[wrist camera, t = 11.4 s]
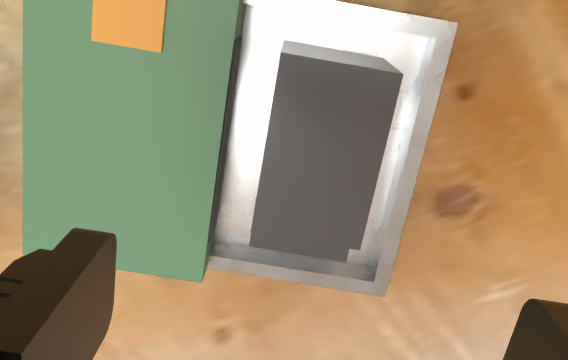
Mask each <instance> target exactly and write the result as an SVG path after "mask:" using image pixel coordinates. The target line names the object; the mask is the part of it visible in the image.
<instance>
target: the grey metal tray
mask: <svg viewBox="0 0 568 360" xmlns="http://www.w3.org/2000/svg"><path fill="white" fill-rule="evenodd" d="M243 3H244V4H246V10H245V18H244V25H243V32H242V43H241V50H240V58H239V65H238V72H237V80H236V87H235V94H234V101H233V109H232V116H231V123H230V131H229V138H228V145H227V152H226V160H225V167H224V174H223V182H222V189H221V196H220V204H219V211H218V218H217V225H216V230H215V237H214V243H213V246H212V249H211V252H210V255H209V261H208V266H207V269H213V270H219V271H225V272H232V273H238V274H244V275H250V276H257V277H263V278H269V279H275V280H282V281H288V282H294V283H300V284H306V285H313V286H319V287H325V288H331V289H338V290H344V291H350V292H356V293H363V294H369V295H375V296H381V297H385V296H386V292H387V288H388V284H389V281H390V277H391V273H392V269H393V266H394V262H395V258H396V254H397V251H398V247H399V243H400V240H401V236H402V232H403V228H404V225H405V221H406V217H407V213H408V210H409V206H410V202H411V198H412V195H413V191H414V187H415V183H416V180H417V176H418V172H419V169H420V165H421V161H422V157H423V154H424V150H425V146H426V142H427V139H428V135H429V131H430V127H431V124H432V120H433V116H434V112H435V109H436V105H437V101H438V98H439V94H440V90H441V86H442V83H443V79H444V75H445V71H446V68H447V64H448V60H449V56H450V53H451V49H452V45H453V41H454V38H455V34H456V30H457V27H458V23H457V22H452V21H447V20H441V19H436V18H430V17H424V16H419V15H413V14H407V13H402V12H396V11H391V10H385V9H379V8H374V7H368V6H363V5H357V4H351V3H346V2H340V1H335V0H244V1H243ZM284 40H287V41H292V42H298V43H303V44H309V45H314V46H320V47H326V48H331V49H337V50H342V51H348V52H353V53H359V54H364V55H370V56H376V57H381V58H384V59H385V60H386V61H388V62H389V63H390V64H391V65H393V66H394V67H395V68H397V69H398V70H399V71H400V72H402V73H403V74H404V75H403V79H402V83H401V87H400V91H399V95H398V99H397V103H396V107H395V111H394V115H393V119H392V123H391V127H390V132H389V136H388V140H387V144H386V148H385V152H384V156H383V160H382V164H381V168H380V172H379V176H378V180H377V184H376V188H375V192H374V196H373V200H372V204H371V209H370V213H369V217H368V221H367V225H366V229H365V233H364V237H363V241H362V245H361V249H360V250H354V249H349V253H348V257H347V261H346V263H344V262H338V261H332V260H326V259H320V258H314V257H308V256H302V255H296V254H290V253H284V252H278V251H272V250H266V249H260V248H254V247H249V242H250V236H251V226H252V220H253V214H254V208H255V202H256V196H257V190H258V184H259V178H260V172H261V167H262V161H263V155H264V149H265V143H266V137H267V131H268V125H269V119H270V113H271V107H272V101H273V95H274V89H275V83H276V77H277V71H278V65H279V59H280V53H281V49H282V45H283V42H284Z"/></svg>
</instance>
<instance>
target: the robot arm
mask: <svg viewBox="0 0 568 360" xmlns="http://www.w3.org/2000/svg"><path fill="white" fill-rule="evenodd" d="M116 252H117V239H116V235H115V234H114V233H108V232H102V231H95V230H89V229H82V228H73V229H72V230H71V231H70V232H69V233H68V234H67V235H66V236H65V237H64V238H63V239H62V240H61V241H60V242H59V244H58V245H57V246H56V247H55V248H54V249H53V250H46V249H38V250H36V251H34V252H31V253H29V254H27V255H25V256H23V257H21V258H19V259H17V260H15V261H13V262H12V263H11V264H10V265H9V266H8V267H7V268H6V269H5V270H4V271H3V272H2V273H1V274H0V360H92V359H93V358H94V356H95V354H96V352H97V350H98V348H99V347H100V345H101V343H102V341H103V339H104V337H105V335H106V333H107V330H108V327H109V324H110V321H111V316H112V311H113V304H114V287H115V270H116ZM503 360H568V304H565V303H559V302H552V301H546V300H539V299H530V300H528V301H527V302H526V303H525V304H524V306H523V307H522V310H521V312H520V315H519V318H518V320H517V323H516V326H515V328H514V331H513V334H512V337H511V339H510V342H509V345H508V347H507V350H506V353H505V355H504V358H503Z"/></svg>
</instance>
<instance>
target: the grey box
mask: <svg viewBox="0 0 568 360" xmlns="http://www.w3.org/2000/svg"><path fill="white" fill-rule="evenodd" d="M403 75H404V74H403V73H402V72H400V71H399V70H398V69H397V68H395V67H394V66H393V65H391V64H390V63H389V62H388V61H386V60H385V59H384V58H381V57H376V56H370V55H364V54H359V53H353V52H348V51H342V50H337V49H331V48H326V47H320V46H314V45H309V44H303V43H298V42H292V41H287V40H284V42H283V45H282V49H281V53H280V59H279V65H278V71H277V77H276V83H275V89H274V95H273V101H272V107H271V113H270V119H269V125H268V131H267V137H266V143H265V149H264V155H263V161H262V167H261V172H260V178H259V184H258V190H257V196H256V202H255V208H254V214H253V220H252V226H251V236H250V242H249V247H254V248H260V249H266V250H272V251H278V252H284V253H290V254H296V255H302V256H308V257H314V258H320V259H326V260H332V261H338V262H344V263H346V261H347V257H348V253H349V249H354V250H360V249H361V245H362V241H363V237H364V233H365V229H366V225H367V221H368V217H369V213H370V209H371V204H372V200H373V196H374V192H375V188H376V184H377V180H378V176H379V172H380V168H381V164H382V160H383V156H384V152H385V148H386V144H387V140H388V136H389V132H390V127H391V123H392V119H393V115H394V111H395V107H396V103H397V99H398V95H399V91H400V87H401V83H402V79H403Z"/></svg>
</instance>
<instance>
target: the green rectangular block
mask: <svg viewBox="0 0 568 360" xmlns="http://www.w3.org/2000/svg"><path fill="white" fill-rule="evenodd" d="M243 1H244V0H23V255H27V254H29V253H31V252H34V251H36V250H38V249H46V250H53V249H54V248H55V247H56V246H57V245H58V244H59V242H60V241H61V240H62V239H63V238H64V237H65V236H66V235H67V234H68V233H69V232H70V231H71V230H72V229H73V228H82V229H89V230H95V231H102V232H108V233H114V234H115V235H116V239H117V252H116V269H117V270H124V271H130V272H136V273H142V274H149V275H155V276H161V277H168V278H174V279H180V280H186V281H193V282H199V283H202V281H203V278H204V275H205V272H206V269H207V266H208V261H209V255H210V252H211V249H212V246H213V243H214V237H215V230H216V225H217V218H218V211H219V204H220V196H221V189H222V182H223V174H224V167H225V160H226V152H227V145H228V138H229V131H230V123H231V116H232V109H233V101H234V94H235V87H236V80H237V72H238V65H239V58H240V50H241V43H242V32H243V25H244V18H245V10H246V4H244V3H243Z"/></svg>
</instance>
